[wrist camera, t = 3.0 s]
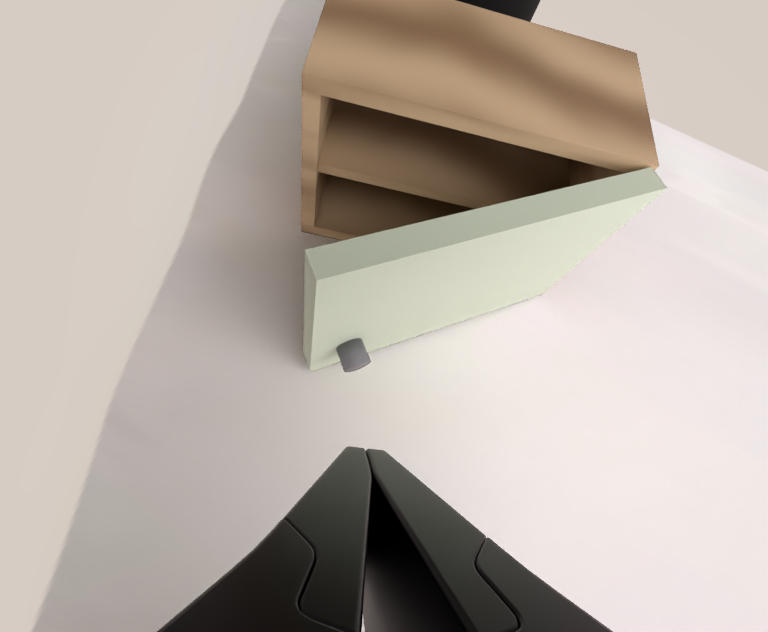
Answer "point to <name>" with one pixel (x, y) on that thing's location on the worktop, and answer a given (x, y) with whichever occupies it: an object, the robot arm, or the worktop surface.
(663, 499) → the worktop surface
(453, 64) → the cabinet
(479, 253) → the door
